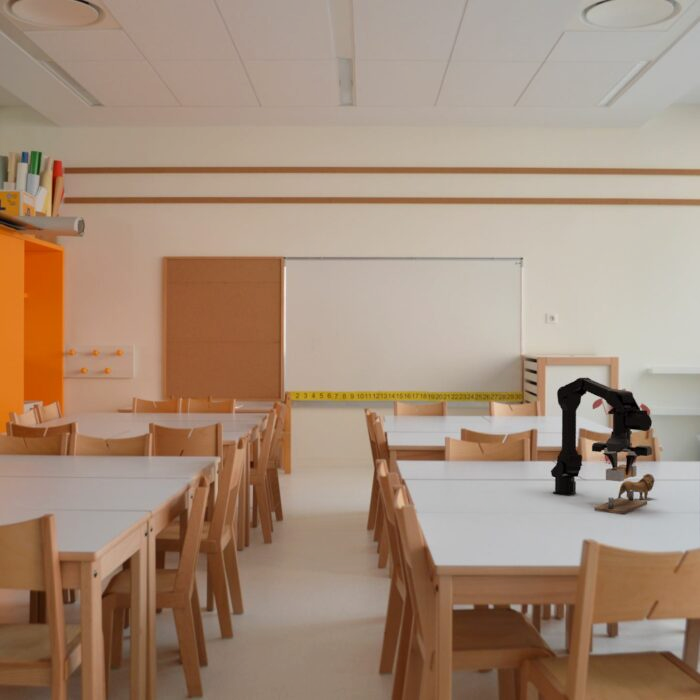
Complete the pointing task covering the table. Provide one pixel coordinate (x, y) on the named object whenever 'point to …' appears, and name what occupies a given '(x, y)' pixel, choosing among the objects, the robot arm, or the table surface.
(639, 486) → the lion figurine
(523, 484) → the table surface
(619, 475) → the hammer
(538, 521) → the table surface
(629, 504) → the board
